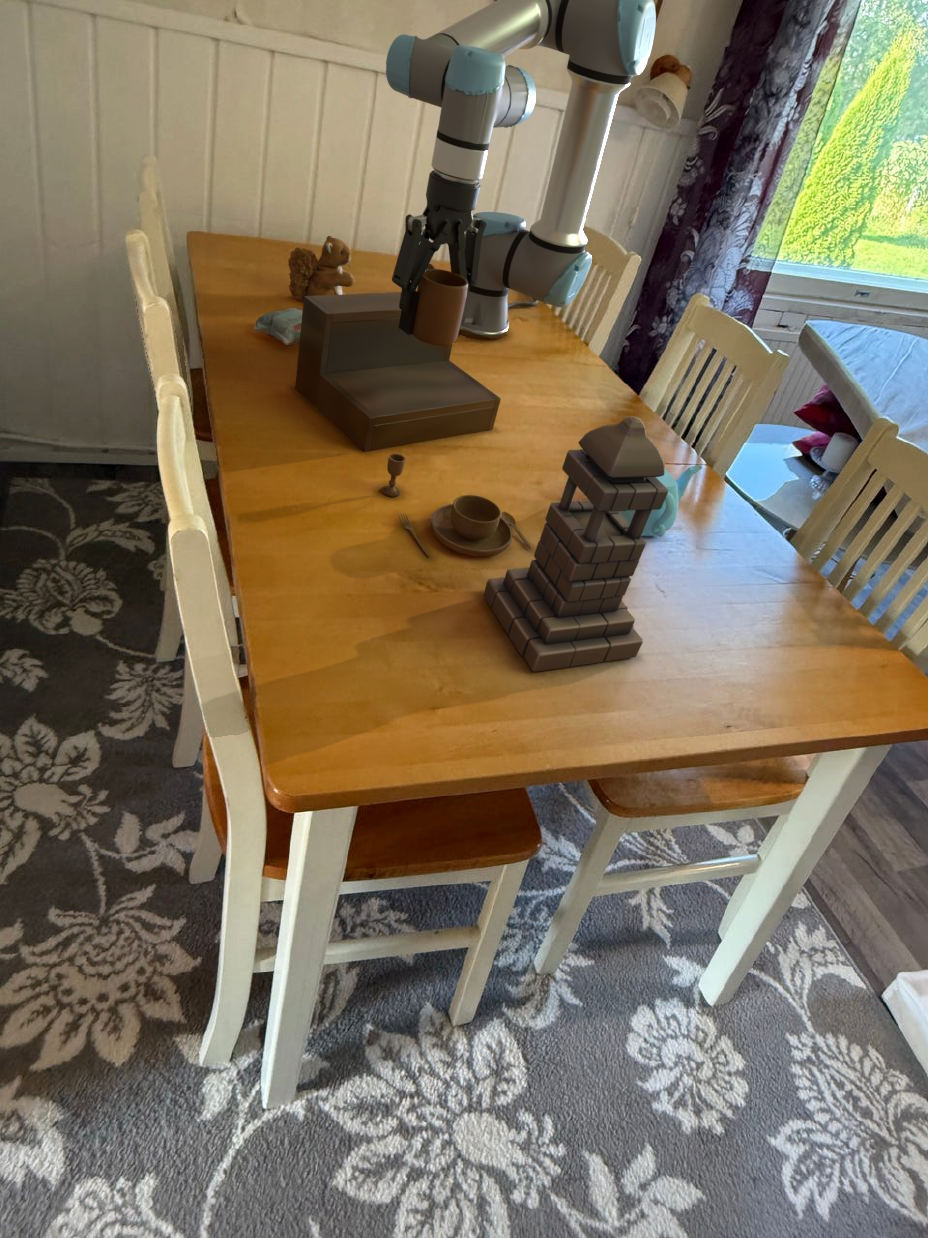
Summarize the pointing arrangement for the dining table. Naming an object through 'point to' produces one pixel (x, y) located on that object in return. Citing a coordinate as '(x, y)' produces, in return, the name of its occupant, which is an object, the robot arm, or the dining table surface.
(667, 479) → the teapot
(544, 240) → the robot arm
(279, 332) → the packaged food
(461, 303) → the mug
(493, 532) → the place setting
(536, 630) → the miniature tower
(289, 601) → the dining table surface
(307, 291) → the stuffed squirrel
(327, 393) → the stepped stand
